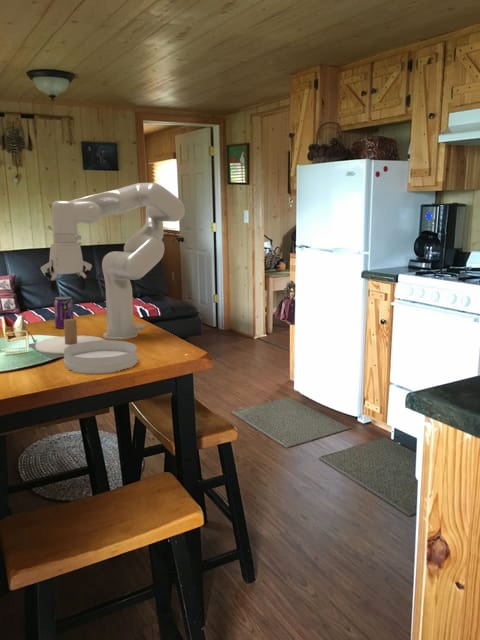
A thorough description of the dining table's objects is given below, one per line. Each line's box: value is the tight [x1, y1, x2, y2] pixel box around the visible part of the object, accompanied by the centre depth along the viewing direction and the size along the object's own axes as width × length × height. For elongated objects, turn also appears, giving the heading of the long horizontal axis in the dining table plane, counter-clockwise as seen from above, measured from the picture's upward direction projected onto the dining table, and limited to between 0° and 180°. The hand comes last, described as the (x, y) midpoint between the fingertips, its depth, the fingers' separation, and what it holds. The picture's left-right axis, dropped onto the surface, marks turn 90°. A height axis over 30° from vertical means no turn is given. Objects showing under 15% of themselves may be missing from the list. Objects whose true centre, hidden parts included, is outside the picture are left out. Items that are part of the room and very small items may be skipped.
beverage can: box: [53, 296, 74, 329], centre depth 218 cm, size 7×7×12 cm
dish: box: [63, 339, 138, 375], centre depth 168 cm, size 22×22×5 cm
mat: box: [28, 335, 108, 360], centre depth 187 cm, size 23×23×1 cm
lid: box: [35, 319, 105, 355], centre depth 186 cm, size 23×23×9 cm
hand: (68, 290), depth 183 cm, fingers open, 9 cm apart
